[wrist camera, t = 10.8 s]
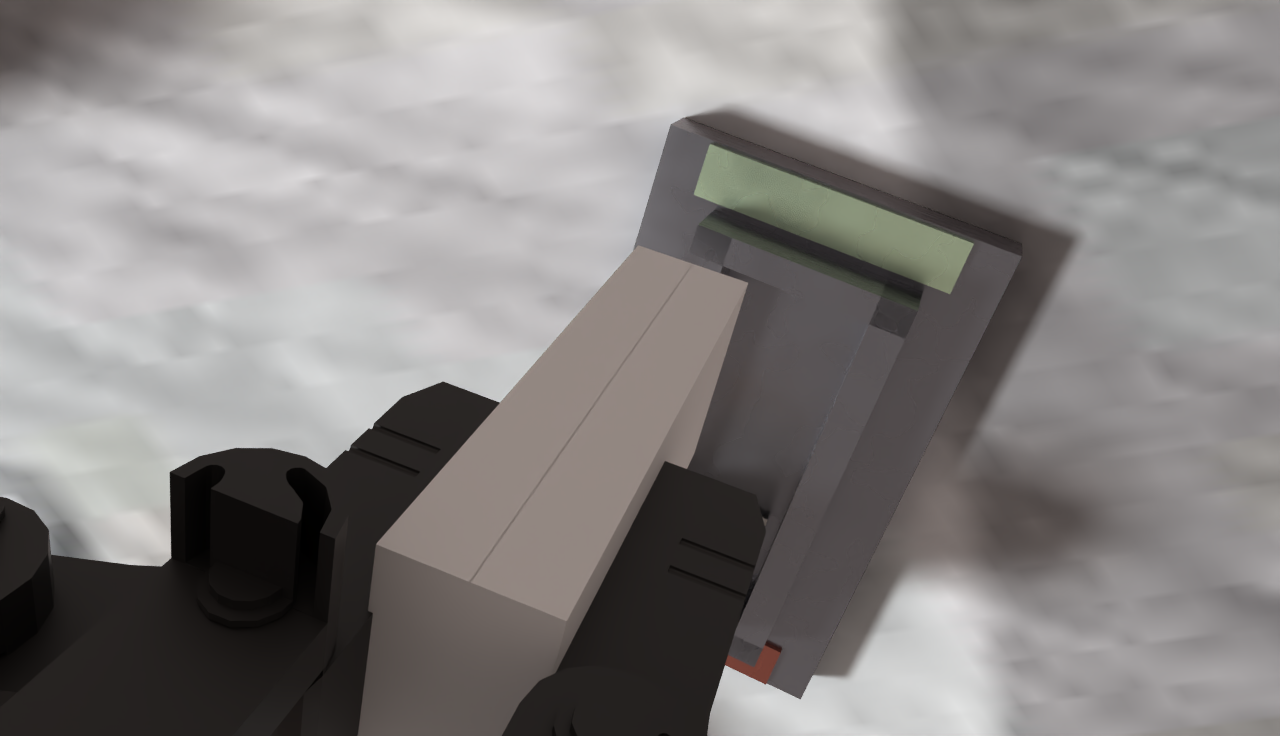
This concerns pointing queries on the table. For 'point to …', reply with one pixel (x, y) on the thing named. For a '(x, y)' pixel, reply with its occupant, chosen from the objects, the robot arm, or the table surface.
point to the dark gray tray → (819, 364)
